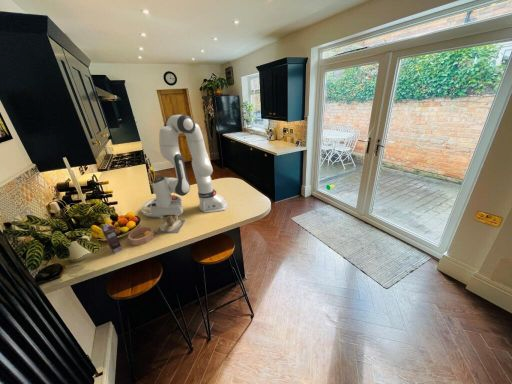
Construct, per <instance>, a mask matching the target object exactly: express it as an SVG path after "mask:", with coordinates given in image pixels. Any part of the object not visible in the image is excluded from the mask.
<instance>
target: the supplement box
mask: <svg viewBox="0 0 512 384" xmlns="http://www.w3.org/2000/svg"><path fill="white" fill-rule="evenodd" d="M100 229H101V231H102V233H103V236H104V238H105V240H106V243H107V245H108V247H109V249H110V250H111V251H112V253H113V254H114V255H115V254H117V253H119V252H121V251H123V247H122V245H121V243H120V240H119V238H118V235H117V233H116V230H115V228H114V227H113V226H112V224H110V222H108V223H105V224H103V225H101V226H100Z"/></svg>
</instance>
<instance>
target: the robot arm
mask: <svg viewBox="0 0 512 384" xmlns="http://www.w3.org/2000/svg"><path fill="white" fill-rule="evenodd" d="M164 122H165V124H164V125H163V127H161V128H160V129H159V135H158V139H159V140H158V143H159V151H160V154H161V156H162V158H164V159H165V160H167V161H168V162H170V164H171V165H173V167H174V170H175V174H176V177H166V176H164V175H163V176H157V177H155V178H154V179H153V180H152V188H153V189H152V190H153V192H154V195H155V198H156V199H154V198H153V199H154V200H153V201H152V202H151V203H150V206H151V208H150V209H151V213H152V215H158V217H157V218H160V221H164V220H165V216H163V217H162V216H161V215H167V216H172V215H175V217H174V219H175V220H177V219H178V220H179V215H182V214H183V213H184V208H183V206H182V205H183V203H182V204H181V202H179V201H172V198H171V195H172V193H173V194H176V195H177V196H178V195H179V197H184V196H186V195H187V194H188V193H189V192H190V190H191V185H190V182H189V179H188V175H187V171H186V166H185V165H186V164H185V160H184V158H183V156H182V154H181V151H180V146H179V135H180V134H184V135H185V137H186V142H187V147H188V150H189V153H190V156H191V158H192V160H191V166H192V170H193V174H194V178H195V180H196V185H197V186H196V187H197V190H198V192H197V194H198V199H199V210H200V211H202V212H203V213H205V214H207V213H214V212H224V211H226V209H228V206H229V202H228V201H227V200H225V198H224V197H223V196H222V195H220V194H218V193H217V189H214V188H213V180H212V177H211V176H212V174H213V172H214V169H213V166H212V163H211V160H210V156H209V154H208V151H207V148H206V144H205V140H204V135H203V132H202V130H201V127H200V125H199V124H198V123H196V122H195V121H194V119H193V118H192V117H190V116H189V115H186V114H172V115H169V116H167V118H166V119H165V121H164Z"/></svg>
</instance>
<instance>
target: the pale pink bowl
mask: <svg viewBox="0 0 512 384" xmlns="http://www.w3.org/2000/svg"><path fill="white" fill-rule="evenodd" d="M165 220H166V222H164V221H163V222H164V223H163V222H162V223H161V224H160V226H159V227H160V230H161V231H163V232H171V231H174V230H176V229H178V228H179V227H180V226H181V225H182V222H181V221H180V220H181V219H179V218H178V219H177V220H175V218H173V216H172V215H167V217H166V218H165ZM182 226H183V225H182Z"/></svg>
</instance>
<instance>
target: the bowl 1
mask: <svg viewBox="0 0 512 384" xmlns="http://www.w3.org/2000/svg"><path fill="white" fill-rule="evenodd" d="M146 231H151V232H150V233H149V234H148V235H147V236H143V237H139V238H136V236H139V235H141V234H144V233H145V232H146ZM154 231H155V230H154V229H153V227H152V226H148V225H147V226H145V225H144V226H141V227H138V228H135V229H134V230H132V231H130V232H129V234H128V235H127V237H128V241H129V243H130V244H131V245H132V246H142V245H144V244H147V243H149V242H151V241H152V240H153V239H154V238H155V232H154Z"/></svg>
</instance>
